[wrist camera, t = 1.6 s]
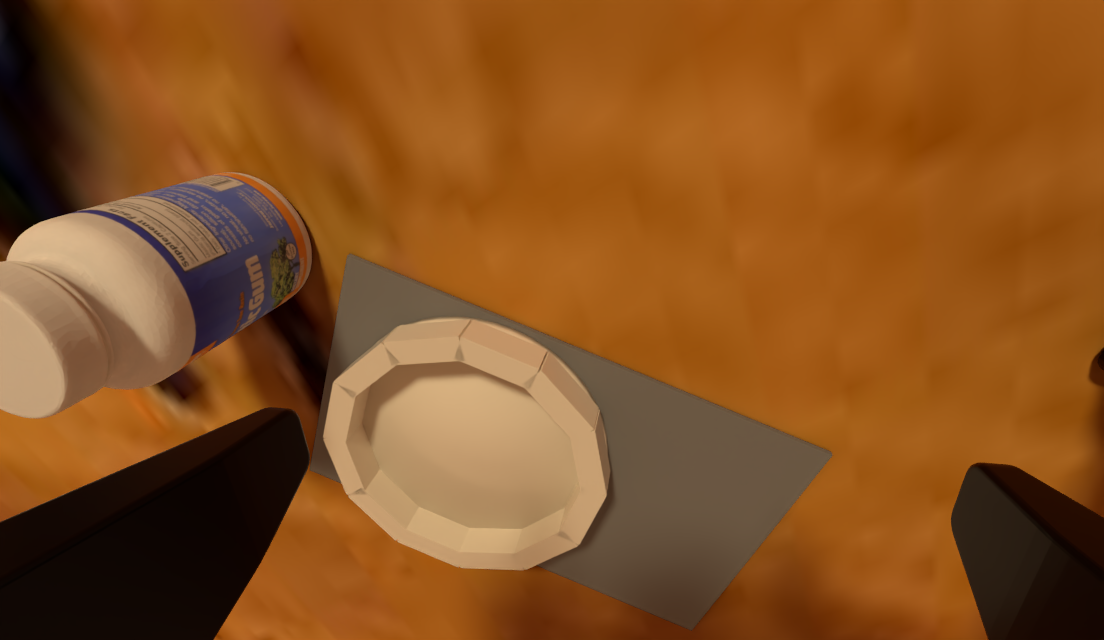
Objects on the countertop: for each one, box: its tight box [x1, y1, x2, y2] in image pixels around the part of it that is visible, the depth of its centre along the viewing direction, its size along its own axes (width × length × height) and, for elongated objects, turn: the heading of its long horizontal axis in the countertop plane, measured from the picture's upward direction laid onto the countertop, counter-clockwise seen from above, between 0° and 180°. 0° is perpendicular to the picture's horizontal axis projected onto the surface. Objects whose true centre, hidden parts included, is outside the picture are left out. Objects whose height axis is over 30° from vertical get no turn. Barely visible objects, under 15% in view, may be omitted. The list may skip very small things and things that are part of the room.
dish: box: [323, 316, 610, 570], centre depth 24 cm, size 12×12×2 cm
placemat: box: [310, 254, 832, 631], centre depth 25 cm, size 20×12×1 cm, turn 70°
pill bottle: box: [0, 172, 312, 418], centre depth 18 cm, size 5×5×10 cm
